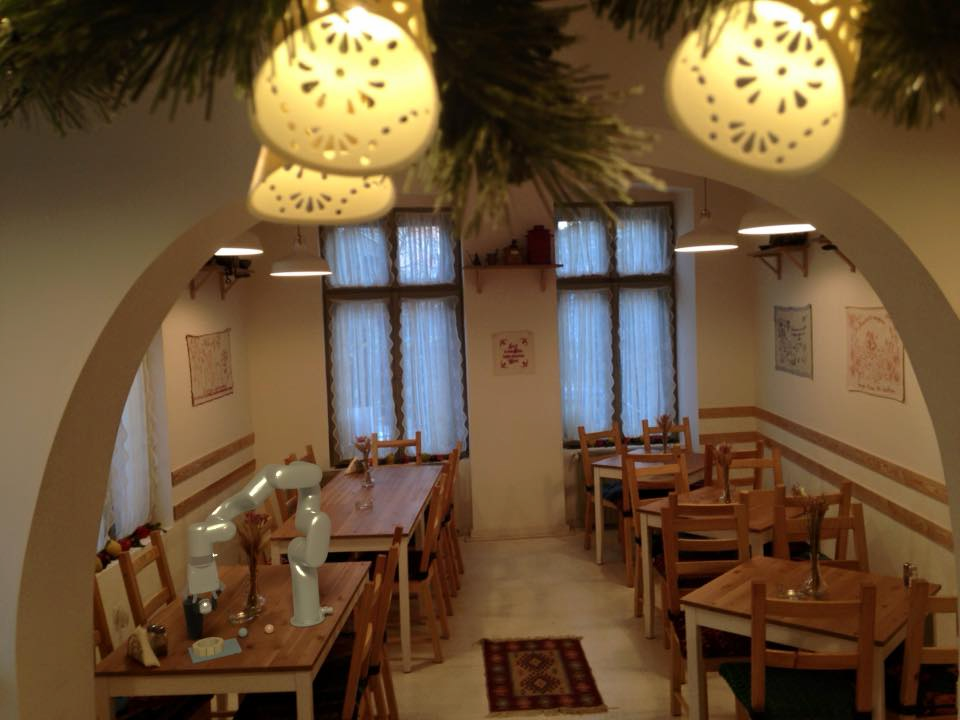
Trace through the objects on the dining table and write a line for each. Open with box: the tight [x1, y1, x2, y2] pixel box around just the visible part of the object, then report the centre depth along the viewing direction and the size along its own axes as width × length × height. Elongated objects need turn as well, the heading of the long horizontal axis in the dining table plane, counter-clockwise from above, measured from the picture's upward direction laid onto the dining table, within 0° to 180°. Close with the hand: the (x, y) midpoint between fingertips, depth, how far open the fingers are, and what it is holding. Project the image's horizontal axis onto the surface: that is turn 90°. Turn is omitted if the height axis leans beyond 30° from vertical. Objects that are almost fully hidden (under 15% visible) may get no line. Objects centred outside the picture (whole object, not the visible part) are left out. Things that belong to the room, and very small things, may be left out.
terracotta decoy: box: [264, 624, 275, 635], centre depth 300 cm, size 3×3×3 cm
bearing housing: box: [187, 636, 243, 664], centre depth 286 cm, size 16×12×4 cm
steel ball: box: [198, 598, 213, 615], centre depth 284 cm, size 5×5×5 cm
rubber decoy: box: [237, 627, 248, 638], centre depth 298 cm, size 3×3×3 cm
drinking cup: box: [181, 595, 205, 641], centre depth 300 cm, size 8×8×20 cm
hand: (205, 610), depth 284 cm, fingers closed on steel ball, 5 cm apart
